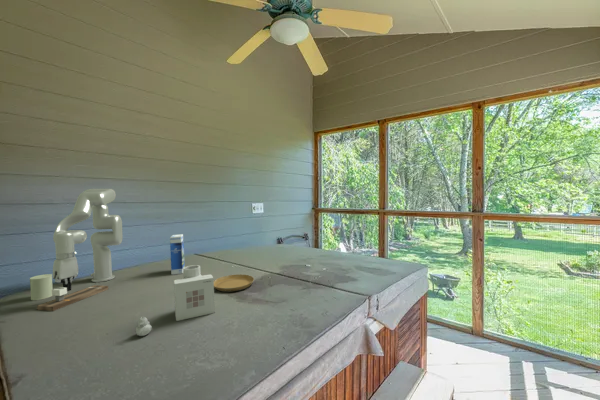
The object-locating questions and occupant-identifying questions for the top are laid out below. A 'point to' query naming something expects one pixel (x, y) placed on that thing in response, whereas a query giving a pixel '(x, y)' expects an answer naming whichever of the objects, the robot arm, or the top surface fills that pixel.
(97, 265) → the robot arm
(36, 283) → the can
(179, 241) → the string lights box
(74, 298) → the fader console
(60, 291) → the fader knob
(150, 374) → the top surface
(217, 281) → the plant saucer
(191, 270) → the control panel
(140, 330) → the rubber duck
